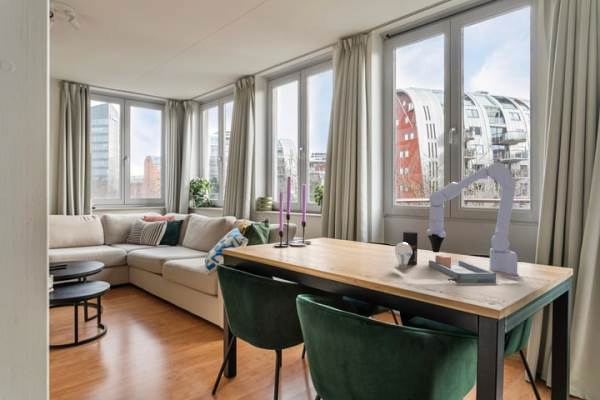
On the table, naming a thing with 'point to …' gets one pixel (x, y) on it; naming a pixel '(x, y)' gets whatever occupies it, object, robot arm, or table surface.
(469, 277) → the trap box
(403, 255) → the light bulb
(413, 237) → the dark brown rectangular block
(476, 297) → the table surface
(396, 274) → the table surface
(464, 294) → the table surface
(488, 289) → the table surface
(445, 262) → the block
